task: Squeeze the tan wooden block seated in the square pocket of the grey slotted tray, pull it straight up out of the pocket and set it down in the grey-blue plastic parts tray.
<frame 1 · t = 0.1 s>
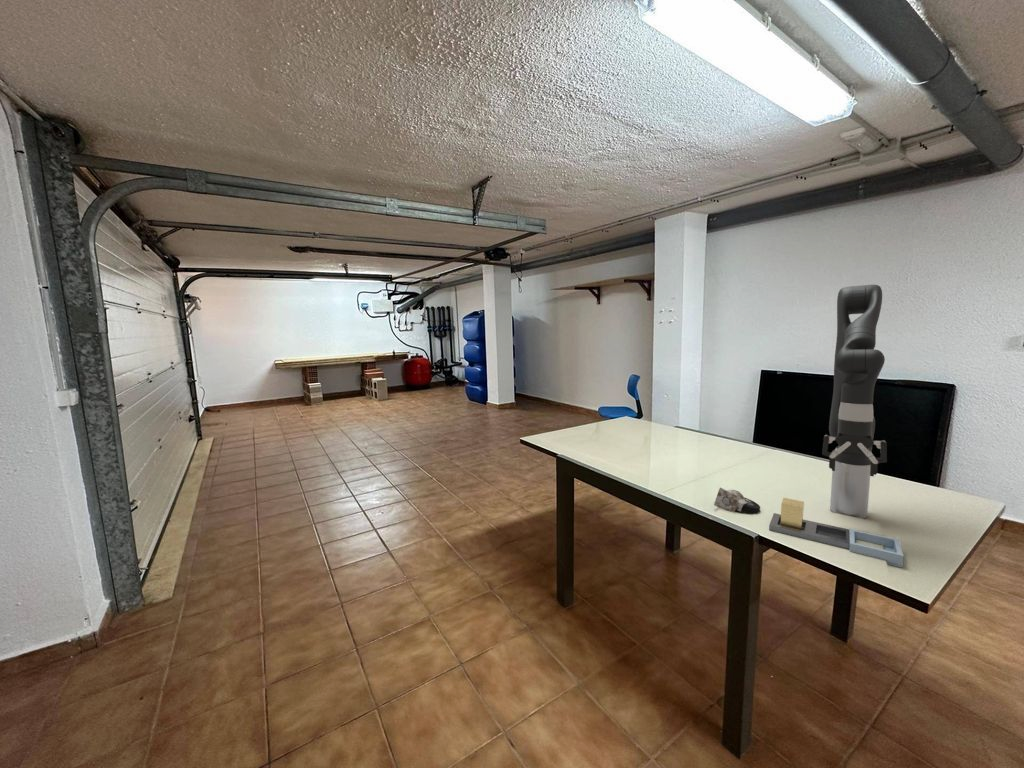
hand: (851, 472, 115), 17 cm above the table, tool pointing down, fingers open, 8 cm apart
camo sneaker: (738, 511, 131), on the table
grey slotted tray: (808, 535, 114), on the table
tan wooden block: (791, 528, 116), point 1 cm above the table, touching grey slotted tray
parts tray: (873, 552, 104), on the table
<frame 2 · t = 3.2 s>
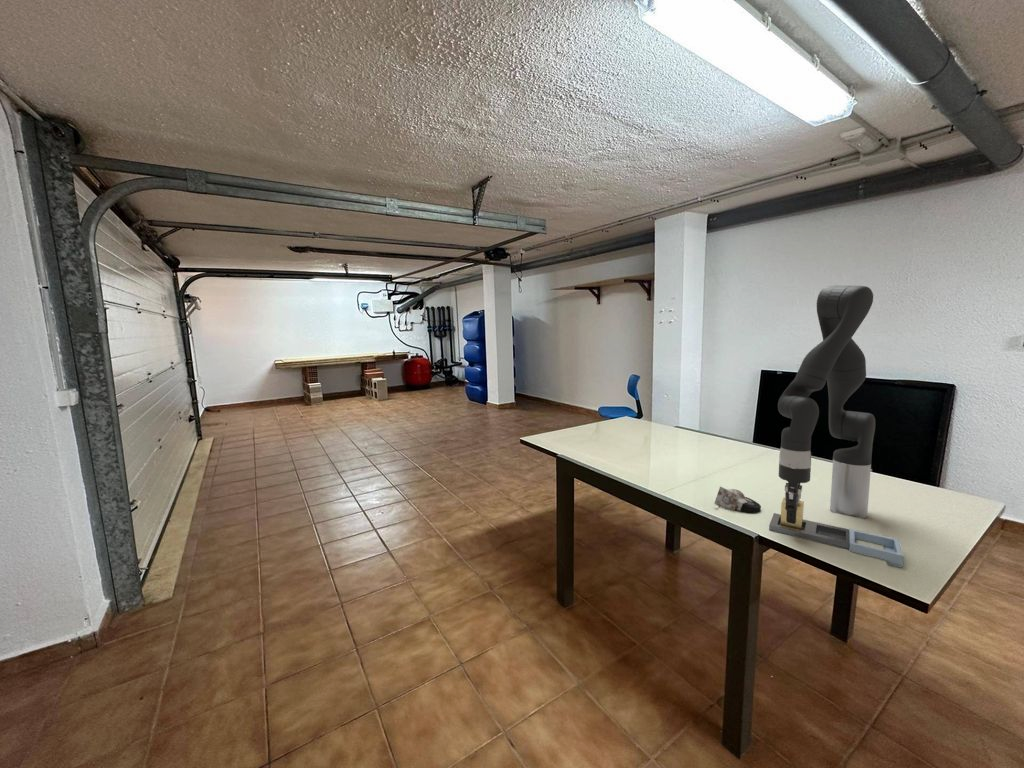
hand: (791, 518, 116), 4 cm above the table, tool pointing down, fingers closed on tan wooden block, 5 cm apart
tan wooden block: (791, 528, 116), point 1 cm above the table, touching gripper, grey slotted tray
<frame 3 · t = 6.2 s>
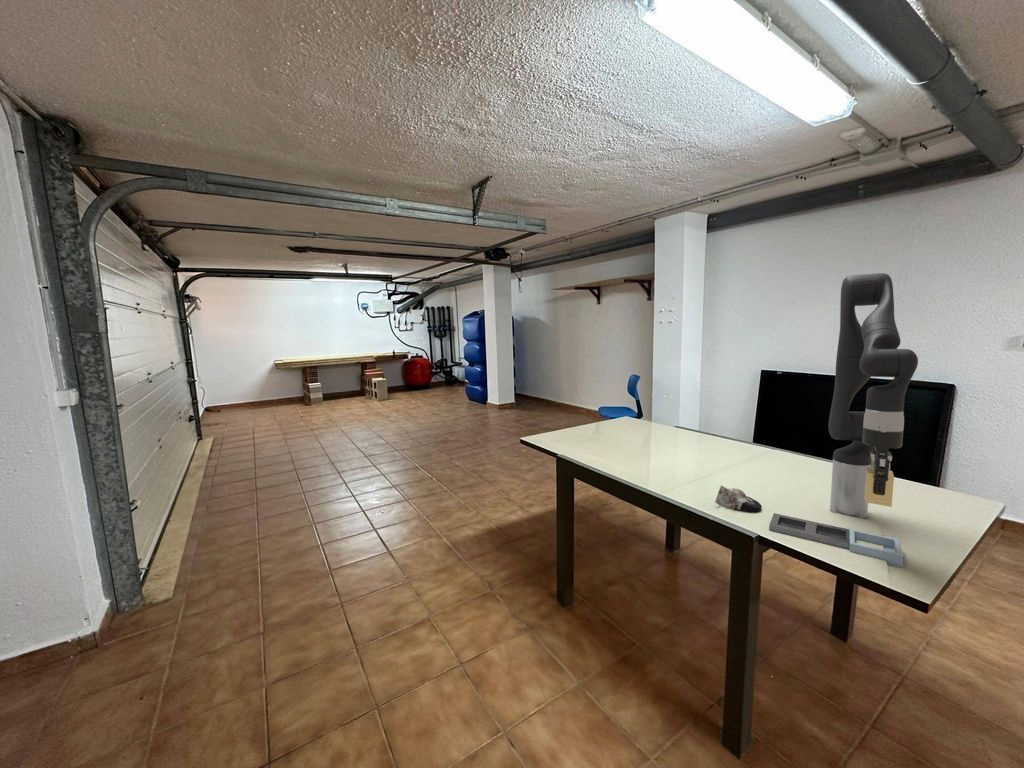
hand: (878, 490, 102), 17 cm above the table, tool pointing down, fingers closed on tan wooden block, 5 cm apart
tan wooden block: (877, 501, 103), point 14 cm above the table, touching gripper
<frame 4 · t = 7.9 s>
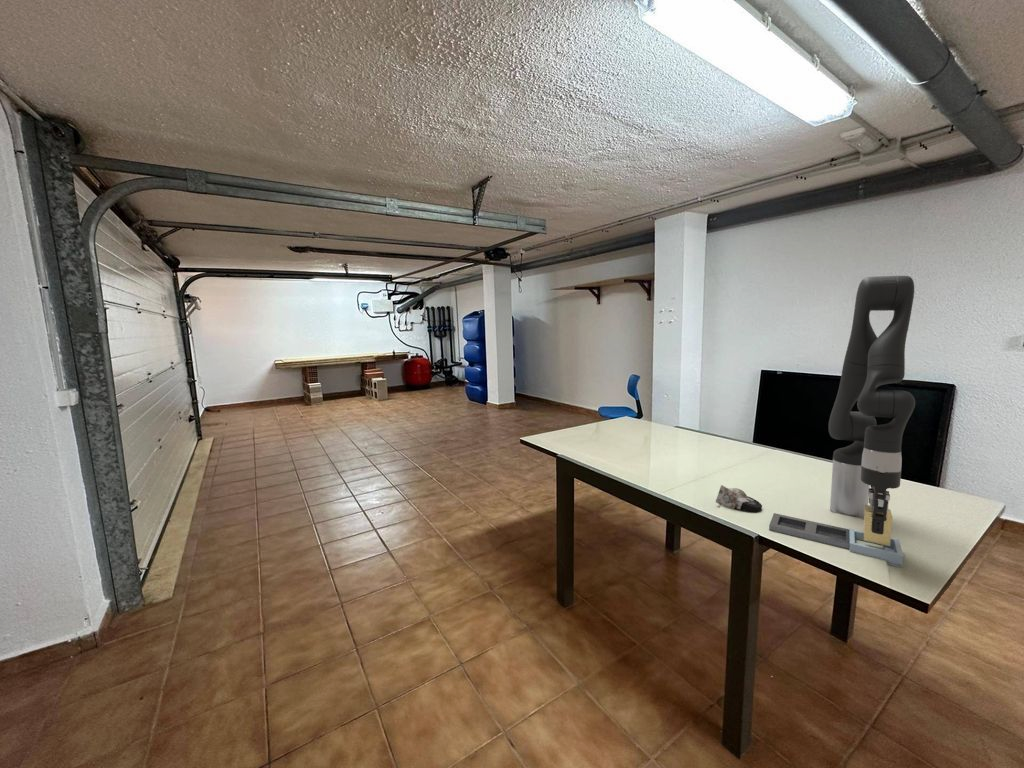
hand: (876, 528, 103), 7 cm above the table, tool pointing down, fingers closed on tan wooden block, 5 cm apart
tan wooden block: (875, 539, 103), point 4 cm above the table, touching gripper
when the fingers open (5 cm above the table, at t = 9.2 s): tan wooden block drops 1 cm, resting on parts tray.
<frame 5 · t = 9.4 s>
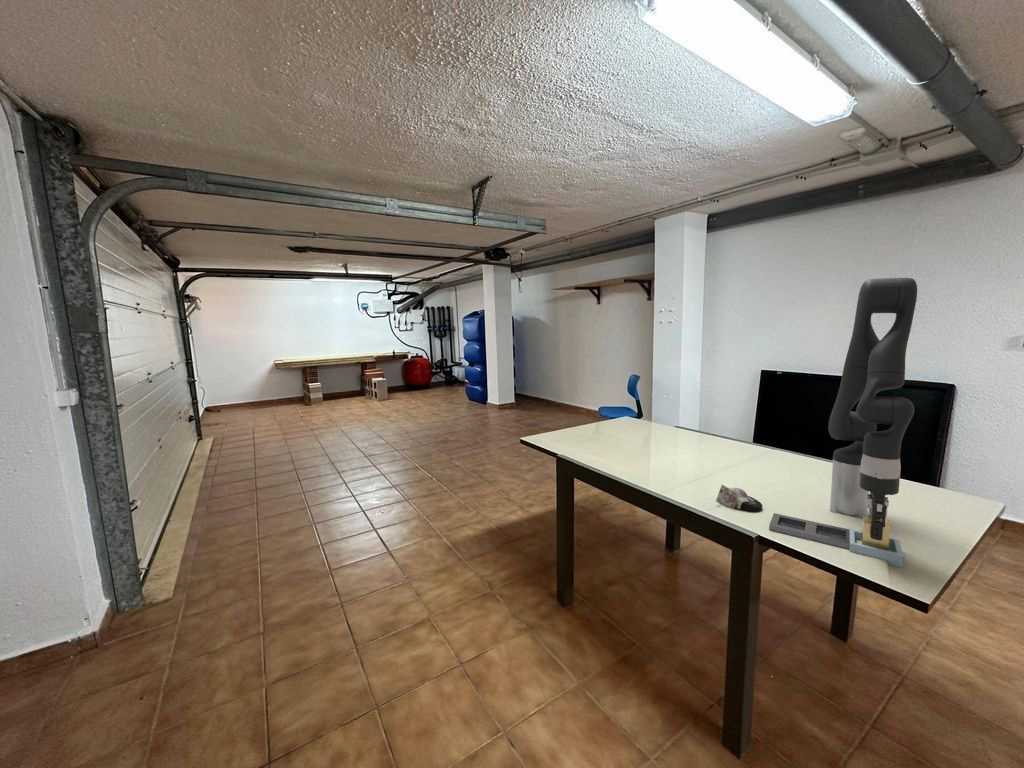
hand: (875, 533, 104), 5 cm above the table, tool pointing down, fingers open, 6 cm apart
tan wooden block: (873, 550, 104), point 1 cm above the table, touching parts tray
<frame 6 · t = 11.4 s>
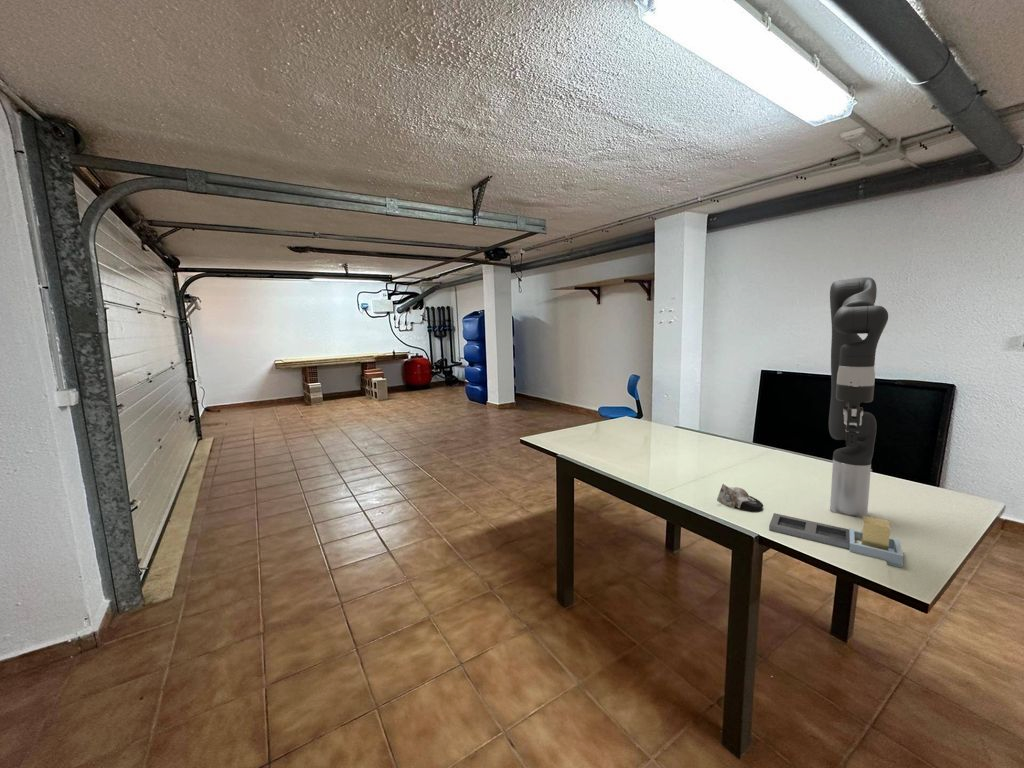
hand: (850, 442, 106), 29 cm above the table, tool pointing down, fingers open, 8 cm apart
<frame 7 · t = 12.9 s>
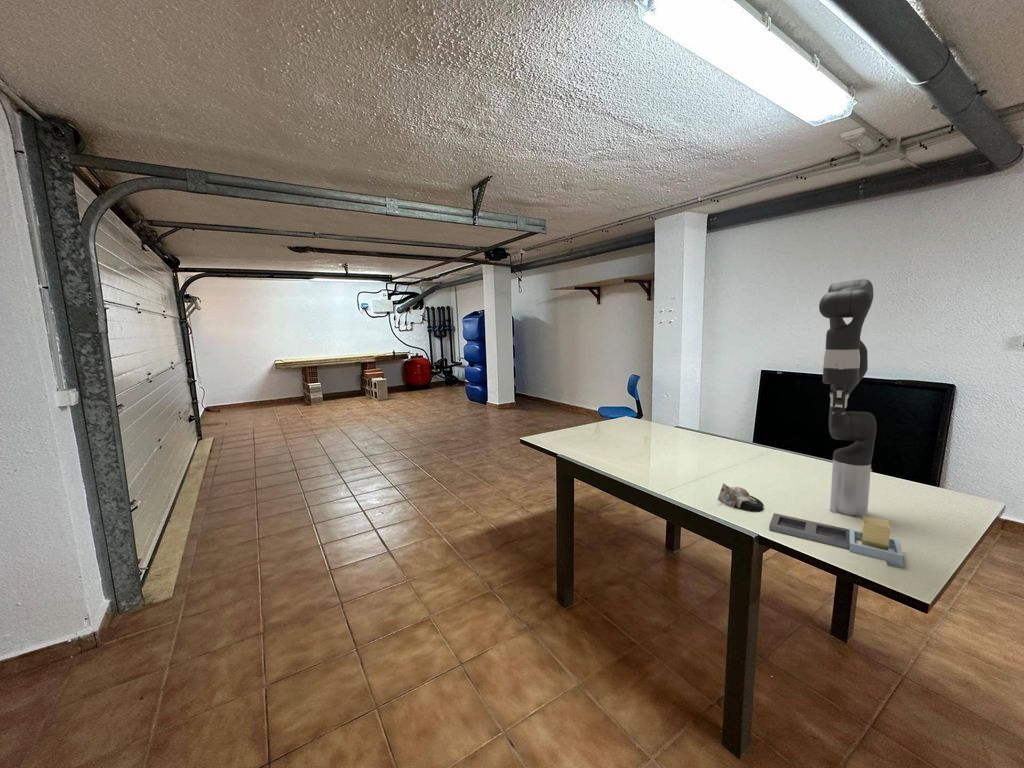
hand: (837, 425, 108), 33 cm above the table, tool pointing down, fingers open, 8 cm apart
at the end: tan wooden block inside the target area on the parts tray (0.0 cm from its centre), point 0.6 cm above the parts tray's base; the gripper is holding nothing; tan wooden block moved 18.0 cm from its start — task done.
